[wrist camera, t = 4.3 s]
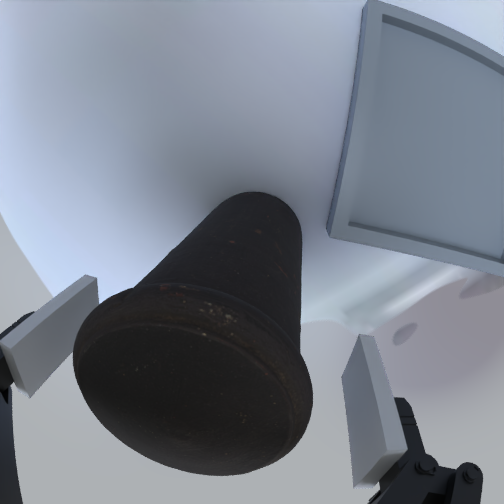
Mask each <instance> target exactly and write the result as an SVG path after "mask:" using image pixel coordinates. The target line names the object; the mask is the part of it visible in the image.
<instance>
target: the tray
mask: <svg viewBox="0 0 504 504" xmlns="http://www.w3.org/2000/svg"><path fill="white" fill-rule="evenodd" d="M326 229H327V232H328V235H329V237H330V238H335V239H340V240H344V241H349V242H354V243H359V244H364V245H368V246H373V247H378V248H382V249H387V250H392V251H396V252H401V253H405V254H410V255H414V256H419V257H423V258H427V259H432V260H436V261H440V262H445V263H449V264H453V265H458V266H462V267H466V268H470V269H474V270H478V271H482V272H486V273H490V274H494V275H498V276H502V277H504V56H502V55H500V54H499V53H497V52H495V51H494V50H492V49H490V48H488V47H487V46H485V45H483V44H481V43H479V42H478V41H476V40H474V39H472V38H470V37H468V36H466V35H464V34H462V33H460V32H458V31H456V30H454V29H452V28H450V27H447V26H445V25H443V24H441V23H438V22H436V21H434V20H431V19H429V18H426V17H424V16H421V15H419V14H416V13H414V12H411V11H408V10H405V9H403V8H400V7H397V6H394V5H391V4H388V3H384V2H381V1H378V0H367V2H366V4H365V6H364V8H363V11H362V21H361V31H360V40H359V48H358V56H357V64H356V71H355V78H354V85H353V92H352V99H351V105H350V111H349V117H348V123H347V129H346V135H345V140H344V146H343V151H342V156H341V161H340V167H339V172H338V177H337V182H336V186H335V191H334V196H333V201H332V205H331V210H330V214H329V219H328V223H327V228H326Z"/></svg>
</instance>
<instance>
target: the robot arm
mask: <svg viewBox="0 0 504 504" xmlns="http://www.w3.org/2000/svg"><path fill="white" fill-rule="evenodd" d="M98 305H99V298H98V286H97V278H96V277H92V276H89V275H84V276H83V277H81V278H80V279H79V280H77V281H76V282H74V283H73V284H72V285H70V286H69V287H68V288H66V289H65V290H64V291H62V292H61V293H60V294H58V295H57V296H56V297H54V298H53V299H52V300H50V301H49V302H48V303H46V304H45V305H44V306H42V307H41V308H40V309H38V310H37V311H36V312H34V311H33V312H31V313H28V314H26V315H24V316H23V317H21V318H20V319H19V320H17V322H15V323H14V324H12V326H10V327H8V328H7V329H6V330H5V331H3V332H2V333H1V334H0V504H23V502H22V497H21V492H20V486H19V480H18V474H17V466H16V459H15V449H14V438H13V420H12V389H11V387H10V385H11V384H12V383H13V382H14V383H15V385H16V387H17V390H18V391H19V392H20V393H22V394H24V395H25V396H27V397H28V398H31V397H32V395H33V394H34V393H35V392H36V391H37V390H38V389H39V388H40V386H41V385H42V384H43V383H44V382H45V381H46V380H47V379H48V378H49V376H50V375H51V374H52V373H53V372H54V371H55V370H56V369H57V368H58V367H59V365H61V363H62V362H63V361H64V360H65V359H66V358H67V357H68V356H69V355H70V354H71V353H72V352H73V347H74V342H75V338H76V335H77V333H78V331H79V329H80V327H81V325H82V323H83V322H84V320H85V319H86V317H87V316H88V315H89V314H90V312H91V311H92V310H94V309H95V308H96V307H97V306H98ZM342 385H343V392H344V399H345V407H346V415H347V423H348V432H349V442H350V452H351V463H352V475H353V488H373V486H375V485H376V484H377V483H378V482H379V484H380V490H379V491H378V492H377V493H376V494H375V495H374V496H373V497H372V498H371V499H370V500H369V503H368V504H480V501H481V493H482V484H483V474H482V471H481V470H480V468H479V467H478V466H477V465H475V464H473V463H469V462H466V463H463V464H461V465H460V466H459V467H458V468H457V469H451V468H446V467H441V466H439V465H438V463H437V461H436V460H435V459H434V458H433V457H432V456H431V455H428V454H426V453H425V450H424V446H423V443H422V439H421V436H420V433H419V429H418V426H416V424H417V423H416V420H415V418H414V414H413V411H412V408H411V406H410V404H409V403H408V402H407V401H406V400H405V398H397V397H396V398H395V397H393V394H392V391H391V387H390V384H389V380H388V377H387V374H386V371H385V368H384V365H383V362H382V359H381V356H380V353H379V350H378V347H377V344H376V341H375V338H374V336H369V335H362V334H359V336H358V339H357V341H356V344H355V346H354V349H353V351H352V354H351V356H350V358H349V361H348V364H347V366H346V368H345V370H344V373H343V375H342Z"/></svg>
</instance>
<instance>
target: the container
mask: <svg viewBox="0 0 504 504" xmlns="http://www.w3.org/2000/svg"><path fill="white" fill-rule="evenodd" d="M301 266H302V234H301V227H300V224H299V221H298V219H297V217H296V215H295V214H294V212H293V211H292V210H291V208H290V207H289V206H288V205H287V204H286V203H284V202H283V201H282V200H280V199H278V198H276V197H274V196H272V195H269V194H266V193H261V192H246V193H241V194H238V195H235V196H233V197H230V198H229V199H227V200H225V201H224V202H223V203H221V204H220V205H219V206H217V207H216V208H215V209H214V210H213V211H212V212H211V213H210V214H209V215H208V216H207V217H206V218H205V219H204V220H203V221H202V222H201V223H200V224H199V225H198V226H197V227H196V228H195V229H194V230H193V231H192V232H191V233H190V234H189V235H188V236H187V237H186V238H185V239H184V240H183V241H182V242H181V243H180V244H179V245H178V246H176V247H175V248H174V249H173V250H171V252H169V254H168V255H167V256H166V257H165V258H164V259H163V260H162V261H161V262H160V263H159V264H158V265H157V266H156V267H155V268H154V269H153V270H152V271H151V272H150V273H149V274H148V275H147V276H145V277H144V278H143V279H142V280H141V281H140V282H139V283H138V284H137V285H136V286H135V287H134V288H130V289H127V290H124V291H122V292H120V293H118V294H116V295H113V296H111V297H109V298H107V299H106V300H105V301H103V302H102V303H101V304H99V305H98V306H97V307H96V308H95V309H94V310H92V311H91V312H90V314H89V315H88V316H87V317H86V319H85V320H84V322H83V323H82V325H81V327H80V329H79V331H78V333H77V335H76V338H75V342H74V347H73V366H74V372H75V377H76V379H77V383H78V385H79V388H80V390H81V392H82V394H83V397H84V399H85V401H86V403H87V404H88V406H89V408H90V409H91V411H92V412H93V413H94V415H95V416H96V417H97V419H98V420H99V421H100V422H101V424H103V426H104V427H105V428H106V429H107V430H109V431H110V432H111V433H112V434H113V435H114V436H115V437H117V438H118V439H119V440H120V441H122V442H123V443H124V444H125V445H127V446H128V447H130V448H132V449H133V450H135V451H137V452H138V453H140V454H141V455H143V456H145V457H147V458H149V459H151V460H153V461H156V462H158V463H160V464H163V465H165V466H168V467H171V468H175V469H178V470H181V471H186V472H190V473H196V474H203V475H211V476H212V475H213V476H229V475H239V474H245V473H248V472H252V471H254V470H257V469H260V468H263V467H265V466H268V465H270V464H272V463H274V462H276V461H278V460H279V459H281V458H282V457H284V456H285V455H286V454H288V453H289V452H290V451H291V450H292V449H293V448H294V447H295V446H296V444H297V443H298V442H299V441H300V439H301V438H302V436H303V434H304V433H305V430H306V428H307V425H308V423H309V420H310V417H311V411H312V406H313V390H312V383H311V379H310V376H309V372H308V369H307V366H306V364H305V362H304V359H303V357H302V356H301V354H300V332H301V325H300V320H301V269H302V268H301Z"/></svg>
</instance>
